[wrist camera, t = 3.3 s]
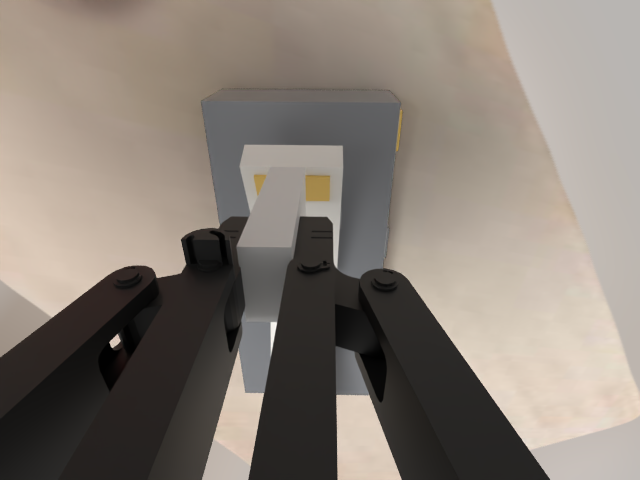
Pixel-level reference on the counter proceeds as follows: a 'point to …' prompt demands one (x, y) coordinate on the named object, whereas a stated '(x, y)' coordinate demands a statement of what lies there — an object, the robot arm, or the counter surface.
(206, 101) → the switch unit
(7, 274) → the counter surface
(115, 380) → the robot arm
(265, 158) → the rocker
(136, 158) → the counter surface
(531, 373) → the counter surface
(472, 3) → the counter surface
